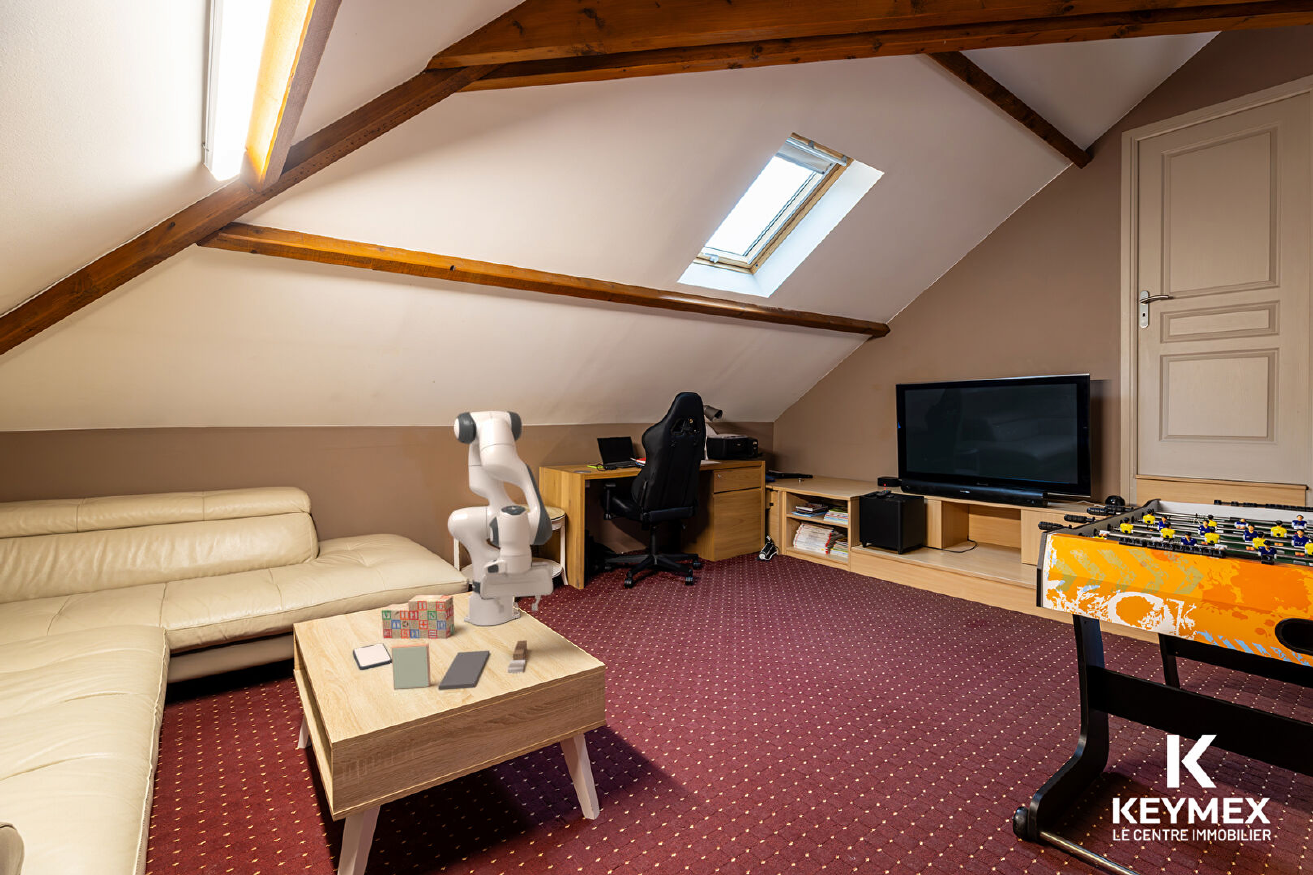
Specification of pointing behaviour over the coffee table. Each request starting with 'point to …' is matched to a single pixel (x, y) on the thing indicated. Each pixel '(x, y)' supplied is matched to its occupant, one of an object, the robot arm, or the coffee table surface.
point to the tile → (411, 666)
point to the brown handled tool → (518, 658)
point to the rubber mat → (464, 670)
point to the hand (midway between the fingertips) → (518, 611)
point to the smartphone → (372, 656)
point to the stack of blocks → (420, 618)
